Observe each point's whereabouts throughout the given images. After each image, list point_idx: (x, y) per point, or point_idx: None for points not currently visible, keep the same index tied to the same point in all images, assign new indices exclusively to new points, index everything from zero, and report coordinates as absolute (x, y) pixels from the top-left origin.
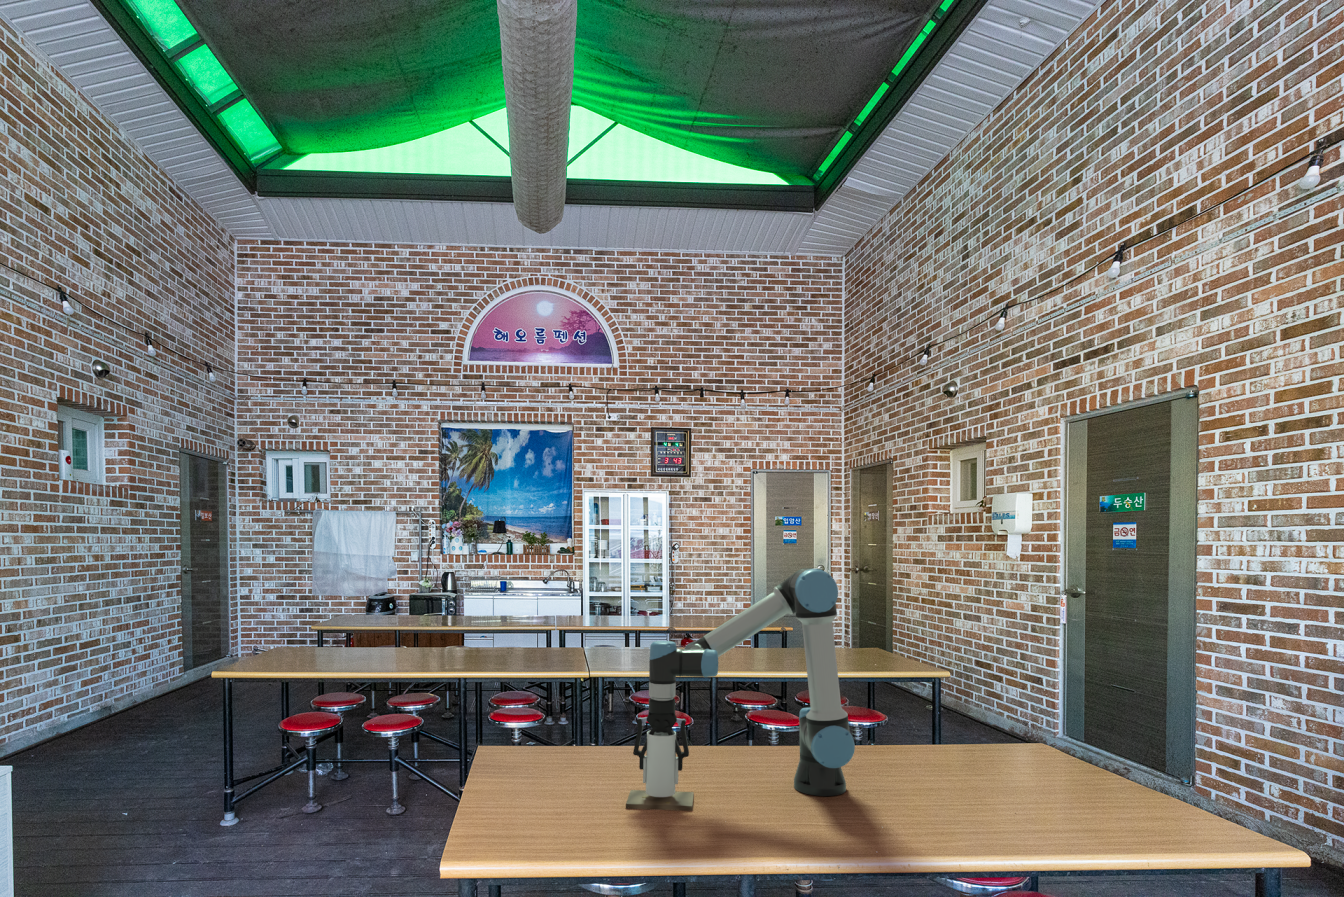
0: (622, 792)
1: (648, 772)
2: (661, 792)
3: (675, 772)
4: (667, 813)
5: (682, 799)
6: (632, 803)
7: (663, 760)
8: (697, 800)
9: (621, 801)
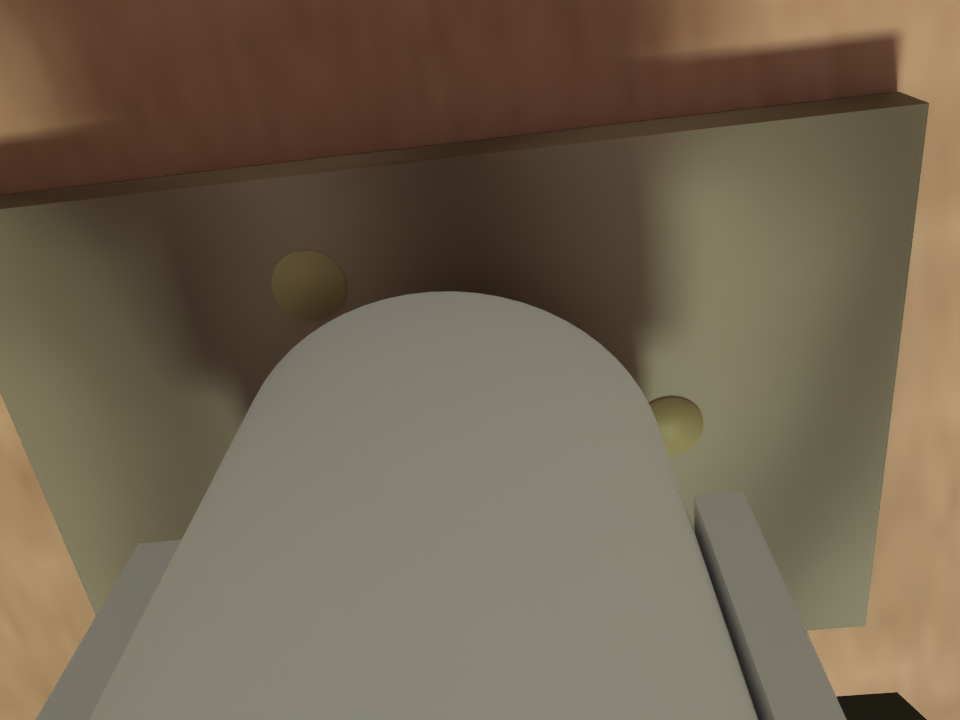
0: (941, 627)
1: (681, 581)
2: (382, 327)
3: (97, 693)
4: (255, 18)
5: (157, 440)
6: (822, 145)
7: None
8: (57, 551)
9: (957, 359)
